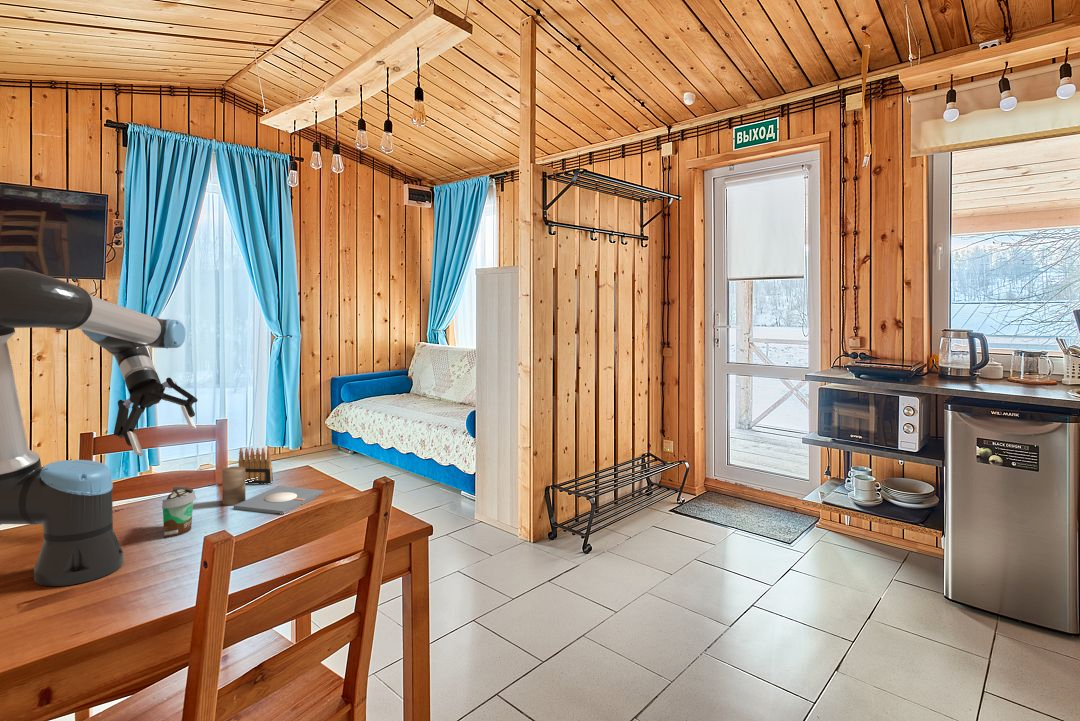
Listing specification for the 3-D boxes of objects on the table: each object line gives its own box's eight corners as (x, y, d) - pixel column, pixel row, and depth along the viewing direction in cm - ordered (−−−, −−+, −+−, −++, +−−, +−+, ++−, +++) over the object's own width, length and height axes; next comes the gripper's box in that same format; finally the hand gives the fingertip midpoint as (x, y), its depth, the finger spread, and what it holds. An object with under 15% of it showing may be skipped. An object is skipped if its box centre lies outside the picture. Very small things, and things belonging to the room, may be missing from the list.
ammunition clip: (272, 482, 190) (272, 447, 189) (270, 484, 188) (270, 448, 187) (239, 482, 190) (239, 446, 189) (237, 483, 188) (236, 447, 187)
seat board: (283, 514, 161) (283, 510, 161) (233, 509, 164) (233, 504, 164) (323, 493, 181) (323, 489, 180) (278, 488, 184) (278, 485, 184)
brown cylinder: (235, 506, 166) (235, 472, 166) (217, 504, 168) (217, 470, 167) (250, 500, 172) (249, 467, 171) (232, 498, 173) (232, 465, 173)
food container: (191, 537, 143) (191, 498, 142) (162, 540, 141) (161, 500, 140) (200, 520, 155) (199, 484, 154) (174, 523, 152) (173, 486, 152)
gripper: (193, 360, 162) (220, 421, 156) (100, 403, 155) (124, 469, 149) (180, 349, 156) (208, 412, 149) (82, 393, 149) (107, 461, 142)
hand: (166, 440), depth 149 cm, fingers open, 13 cm apart
